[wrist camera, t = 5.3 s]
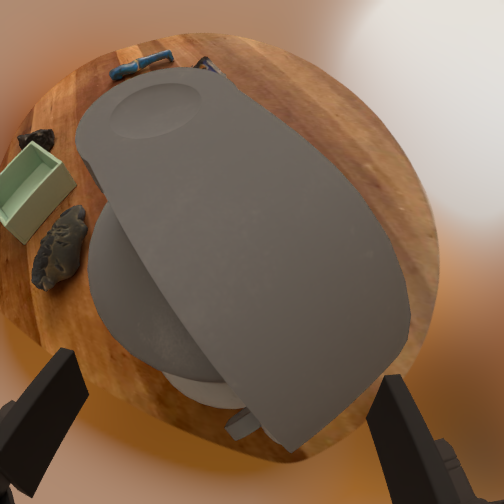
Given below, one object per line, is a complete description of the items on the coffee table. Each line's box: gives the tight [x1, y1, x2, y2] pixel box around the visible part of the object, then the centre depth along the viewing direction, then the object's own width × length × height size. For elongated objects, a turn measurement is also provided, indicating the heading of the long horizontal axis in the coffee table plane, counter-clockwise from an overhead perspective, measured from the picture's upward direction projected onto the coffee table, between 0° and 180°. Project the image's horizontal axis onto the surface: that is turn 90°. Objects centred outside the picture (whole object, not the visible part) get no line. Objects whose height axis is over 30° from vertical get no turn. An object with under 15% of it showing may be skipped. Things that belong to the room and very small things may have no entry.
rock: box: [17, 129, 54, 151], centre depth 42 cm, size 7×10×6 cm
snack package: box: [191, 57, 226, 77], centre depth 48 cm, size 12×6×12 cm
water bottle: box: [75, 67, 411, 453], centre depth 17 cm, size 10×10×28 cm
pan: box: [0, 141, 77, 245], centre depth 36 cm, size 13×13×6 cm
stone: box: [31, 205, 88, 292], centre depth 32 cm, size 7×13×5 cm, turn 174°
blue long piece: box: [109, 50, 174, 80], centre depth 54 cm, size 5×4×15 cm
